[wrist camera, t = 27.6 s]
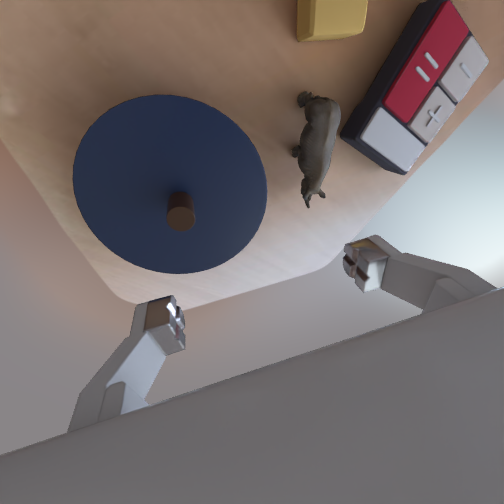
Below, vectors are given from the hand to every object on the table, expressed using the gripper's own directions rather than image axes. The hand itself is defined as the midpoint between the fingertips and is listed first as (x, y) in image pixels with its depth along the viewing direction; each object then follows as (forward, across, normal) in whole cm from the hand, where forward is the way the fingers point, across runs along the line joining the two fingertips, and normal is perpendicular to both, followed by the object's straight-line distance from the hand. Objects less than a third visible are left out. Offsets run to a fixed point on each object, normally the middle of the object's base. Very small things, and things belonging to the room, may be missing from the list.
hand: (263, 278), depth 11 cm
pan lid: (+18, +5, +2) cm, 18 cm away
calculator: (+24, -26, -1) cm, 35 cm away
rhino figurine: (+24, -12, +2) cm, 27 cm away
